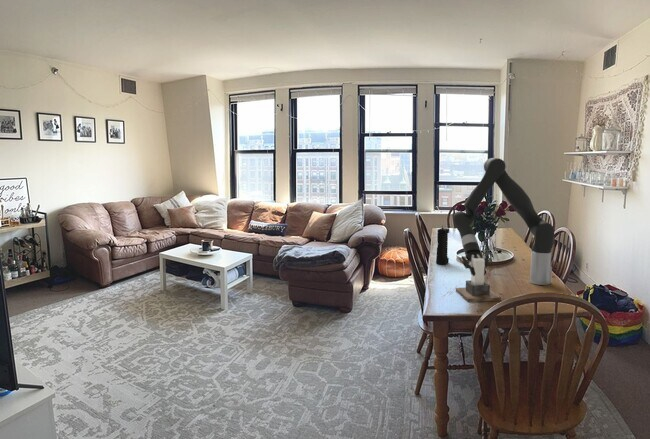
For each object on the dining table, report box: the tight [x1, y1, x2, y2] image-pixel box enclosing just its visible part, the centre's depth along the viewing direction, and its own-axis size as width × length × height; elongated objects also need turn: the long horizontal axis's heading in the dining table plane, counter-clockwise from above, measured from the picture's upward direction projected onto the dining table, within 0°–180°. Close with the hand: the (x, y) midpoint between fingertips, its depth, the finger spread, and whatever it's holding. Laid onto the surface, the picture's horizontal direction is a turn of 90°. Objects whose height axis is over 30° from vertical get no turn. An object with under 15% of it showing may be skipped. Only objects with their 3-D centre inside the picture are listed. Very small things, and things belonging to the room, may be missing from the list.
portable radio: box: [435, 225, 450, 266], centre depth 259 cm, size 8×6×25 cm
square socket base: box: [455, 279, 502, 303], centre depth 201 cm, size 16×16×6 cm
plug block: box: [470, 258, 485, 285], centre depth 200 cm, size 4×4×14 cm
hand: (479, 274), depth 198 cm, fingers closed on plug block, 4 cm apart
